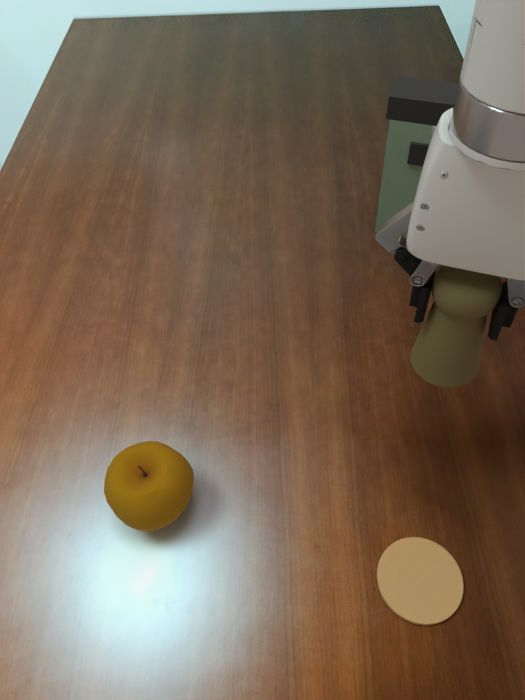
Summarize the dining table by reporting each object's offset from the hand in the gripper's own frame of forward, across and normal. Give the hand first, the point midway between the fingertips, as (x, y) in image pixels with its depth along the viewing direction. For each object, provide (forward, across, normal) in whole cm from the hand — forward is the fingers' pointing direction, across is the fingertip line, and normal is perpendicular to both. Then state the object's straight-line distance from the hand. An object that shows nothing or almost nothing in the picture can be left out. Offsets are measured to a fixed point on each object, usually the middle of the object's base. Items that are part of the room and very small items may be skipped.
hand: (457, 317), depth 48 cm
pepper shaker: (+6, 0, 0) cm, 6 cm away
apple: (+21, +24, +16) cm, 36 cm away
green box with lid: (+21, +7, -35) cm, 42 cm away
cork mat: (+21, -3, +14) cm, 26 cm away
